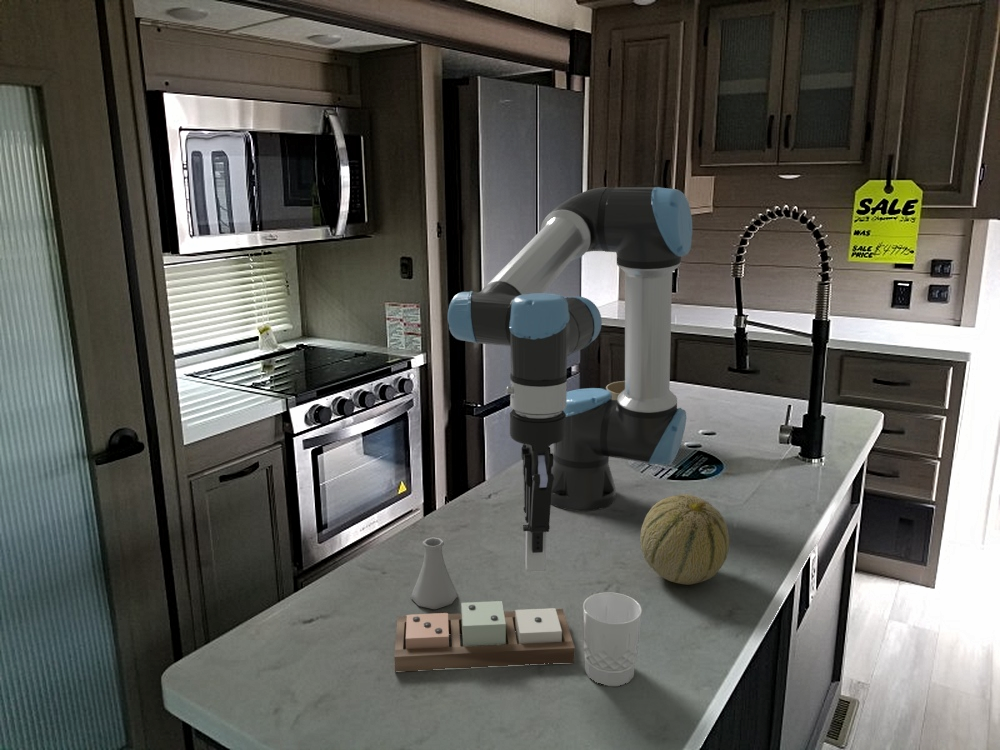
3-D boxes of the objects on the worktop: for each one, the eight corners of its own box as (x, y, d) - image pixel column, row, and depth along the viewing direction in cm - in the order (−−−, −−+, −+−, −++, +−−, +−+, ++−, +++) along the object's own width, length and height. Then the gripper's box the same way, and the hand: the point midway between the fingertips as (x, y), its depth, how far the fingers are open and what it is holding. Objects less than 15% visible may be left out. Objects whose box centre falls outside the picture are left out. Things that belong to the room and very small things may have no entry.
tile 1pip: (515, 628, 115) (515, 608, 114) (554, 627, 115) (555, 606, 115) (519, 653, 109) (519, 631, 108) (561, 651, 110) (561, 630, 109)
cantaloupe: (652, 550, 141) (656, 473, 137) (734, 568, 134) (741, 489, 130) (626, 587, 128) (630, 504, 124) (715, 609, 121) (722, 522, 118)
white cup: (631, 653, 110) (635, 591, 108) (643, 689, 103) (647, 623, 100) (577, 654, 110) (579, 592, 108) (585, 690, 102) (587, 624, 100)
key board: (398, 631, 116) (397, 616, 115) (562, 623, 118) (562, 608, 117) (395, 672, 106) (394, 656, 105) (574, 663, 108) (574, 647, 107)
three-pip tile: (407, 633, 114) (406, 613, 113) (448, 632, 114) (447, 611, 113) (406, 658, 108) (405, 637, 107) (449, 656, 108) (448, 635, 107)
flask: (434, 581, 130) (432, 527, 127) (466, 596, 125) (465, 540, 123) (402, 599, 124) (400, 543, 122) (434, 615, 120) (433, 557, 117)
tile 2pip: (461, 622, 114) (461, 601, 113) (501, 620, 114) (501, 599, 113) (463, 646, 108) (462, 624, 107) (505, 644, 109) (505, 622, 108)
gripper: (505, 397, 109) (504, 548, 115) (515, 426, 97) (514, 593, 103) (557, 395, 110) (554, 546, 116) (574, 424, 97) (569, 591, 103)
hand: (535, 568), depth 109 cm, fingers closed
